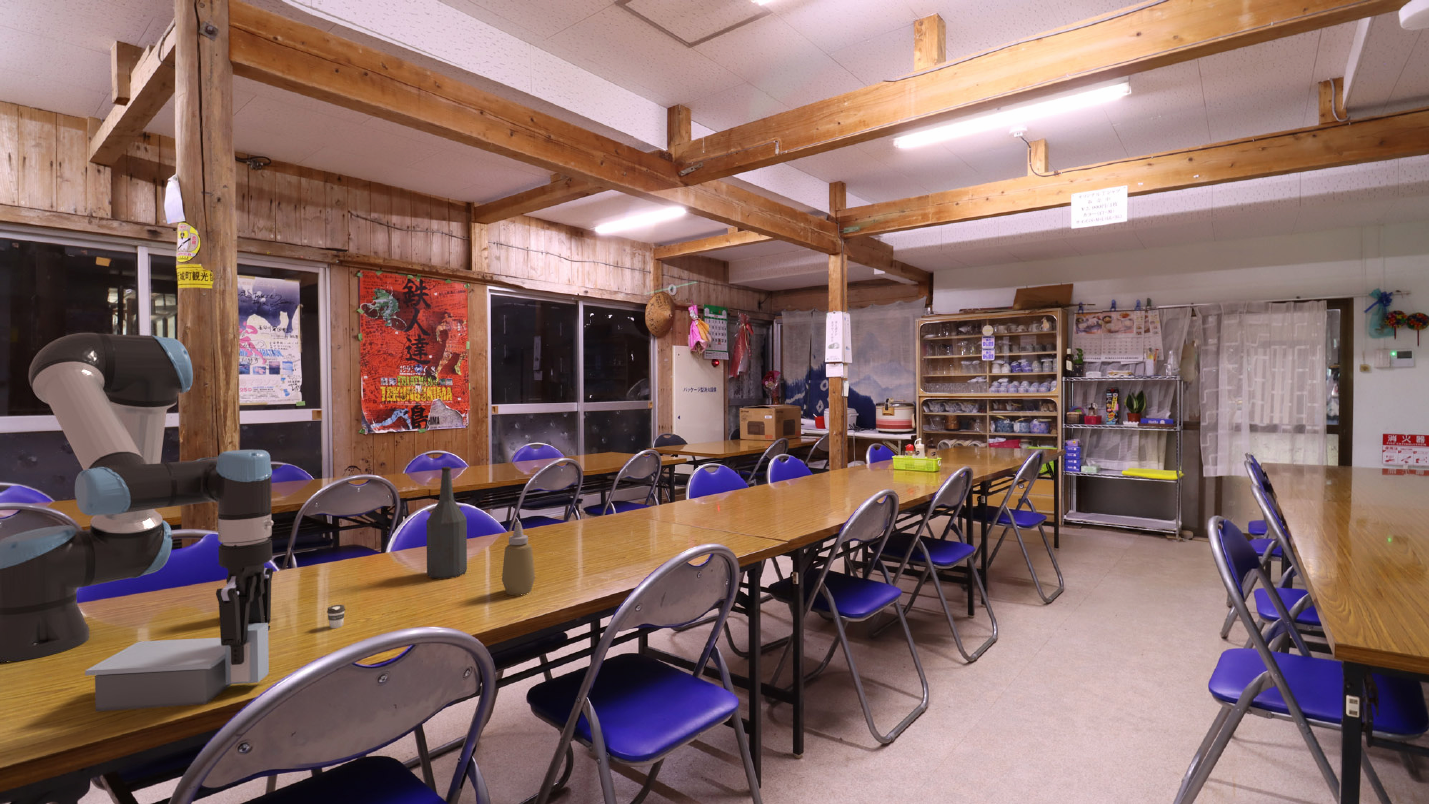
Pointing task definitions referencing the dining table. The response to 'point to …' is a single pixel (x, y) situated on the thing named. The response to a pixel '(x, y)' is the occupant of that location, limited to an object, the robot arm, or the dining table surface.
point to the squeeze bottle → (518, 564)
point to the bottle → (446, 534)
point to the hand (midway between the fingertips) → (247, 675)
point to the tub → (159, 688)
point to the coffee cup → (336, 615)
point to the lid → (187, 656)
